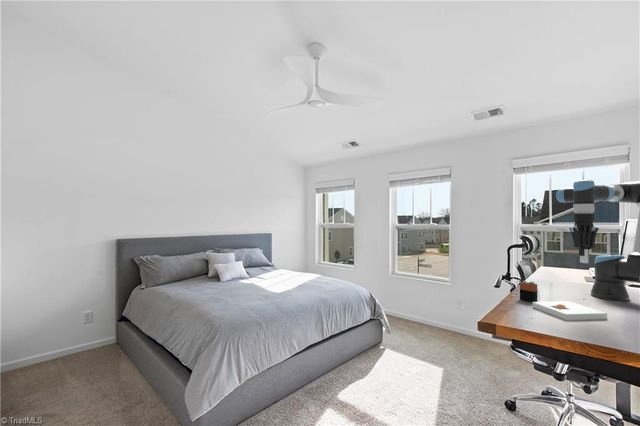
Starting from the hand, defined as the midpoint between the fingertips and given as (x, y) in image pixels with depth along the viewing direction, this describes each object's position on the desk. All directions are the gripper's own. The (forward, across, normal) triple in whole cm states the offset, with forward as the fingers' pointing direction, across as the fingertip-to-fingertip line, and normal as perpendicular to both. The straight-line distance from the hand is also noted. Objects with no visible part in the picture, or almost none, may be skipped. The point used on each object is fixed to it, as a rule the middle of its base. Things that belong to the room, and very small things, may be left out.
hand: (584, 262), depth 140 cm
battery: (+23, +14, -17) cm, 32 cm away
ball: (+20, +15, +3) cm, 25 cm away
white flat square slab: (+22, +12, +3) cm, 25 cm away
